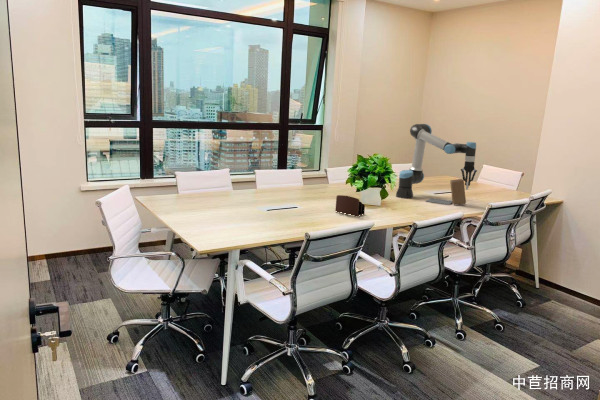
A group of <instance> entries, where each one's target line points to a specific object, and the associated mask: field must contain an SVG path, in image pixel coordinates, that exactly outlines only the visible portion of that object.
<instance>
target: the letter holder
mask: <svg viewBox="0 0 600 400" xmlns="http://www.w3.org/2000/svg"><path fill="white" fill-rule="evenodd" d="M335 198H336V199H335V200H336V201H335V210H334V211H337V212H342V213H346V214H351V215H355V216H354V217H356V216H359V215H361V216H363V215H362V214H364V215H365V212H366V211H365V207H366V205H365V203H362V201H360V199H359V198H357V197H354V196H349V195H340V194H339V195H336V197H335ZM337 212H336V213H337ZM342 213H341V214H342ZM346 214H345V215H346ZM351 215H350V216H351ZM359 217H360V216H359Z"/></svg>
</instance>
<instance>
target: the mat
mask: <svg viewBox="0 0 600 400" xmlns="http://www.w3.org/2000/svg"><path fill="white" fill-rule="evenodd" d="M425 203H431V204H437V205H445V206H450V205H452V204H453V202H452V200H449V199H448V200H447V199H441V198H435V197H431V198H429V199H426V200H425Z"/></svg>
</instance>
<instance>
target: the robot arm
mask: <svg viewBox="0 0 600 400" xmlns="http://www.w3.org/2000/svg"><path fill="white" fill-rule="evenodd" d="M409 134H410V135H411V136H412V138H413V139H415V143H414V150H413V156H412V163H411V166H410V167H409V169H404V170H401V171H400V172H399V178H398V188H397V191H396V193H395V197H397V198H401V199H413V198H414V192H413V185H417V184H420V183H422V182H423V181H424V179H425V174H424V170H423V168H422V167H423V161H424V160H423V159H424V155H425V148H426V143H428V144H430V145H432V146H434V147H436V148H439V149H440V150H443V151H444V153H446V154H447V155H452V154H453V155H454V154H465V156H464V167H463V168H461V169H460V171H461V175H462V176H461V177H462V180H463V181H464V186H465V191H467V190H469V186H471V182H473V181H474V179H475V176H476V173H477V172H478V170H477V169H475V163H476V162H475V161H476V150H477V142H475V141H474V142H473V141H467V142H466V143H465V144H464V143H456V142H455V143H450V142H449V141H446V140H445V139H442V138H440V137H438V136H436V135H434V134H432V127H431V125H429V124H427V123H416V124H413V125H412V126H411V127H410V129H409ZM472 172H473V174H472Z"/></svg>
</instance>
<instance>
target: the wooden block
mask: <svg viewBox="0 0 600 400" xmlns="http://www.w3.org/2000/svg"><path fill="white" fill-rule="evenodd" d="M449 185H450V191H451V201H452V202H453V203H452V204H453V206H458V205H459V206H460V205H466V204H467V201H466V200H467V199H466V192H465V191H466V187H465V181H463V178H459V179H451V180H450V183H449Z"/></svg>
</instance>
